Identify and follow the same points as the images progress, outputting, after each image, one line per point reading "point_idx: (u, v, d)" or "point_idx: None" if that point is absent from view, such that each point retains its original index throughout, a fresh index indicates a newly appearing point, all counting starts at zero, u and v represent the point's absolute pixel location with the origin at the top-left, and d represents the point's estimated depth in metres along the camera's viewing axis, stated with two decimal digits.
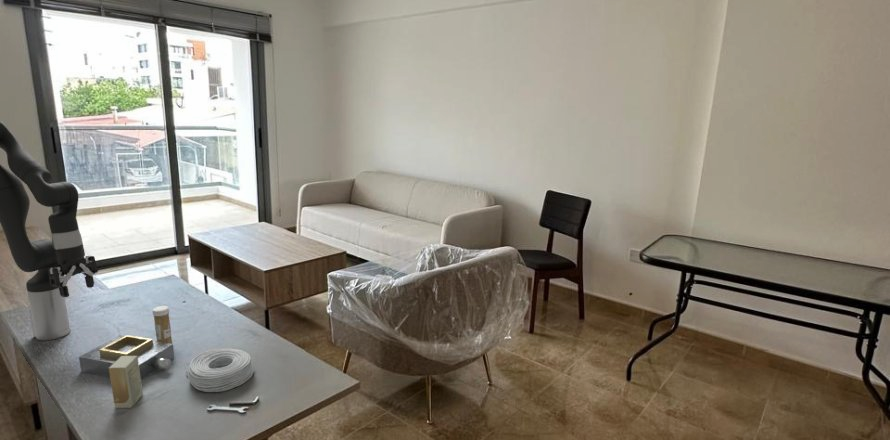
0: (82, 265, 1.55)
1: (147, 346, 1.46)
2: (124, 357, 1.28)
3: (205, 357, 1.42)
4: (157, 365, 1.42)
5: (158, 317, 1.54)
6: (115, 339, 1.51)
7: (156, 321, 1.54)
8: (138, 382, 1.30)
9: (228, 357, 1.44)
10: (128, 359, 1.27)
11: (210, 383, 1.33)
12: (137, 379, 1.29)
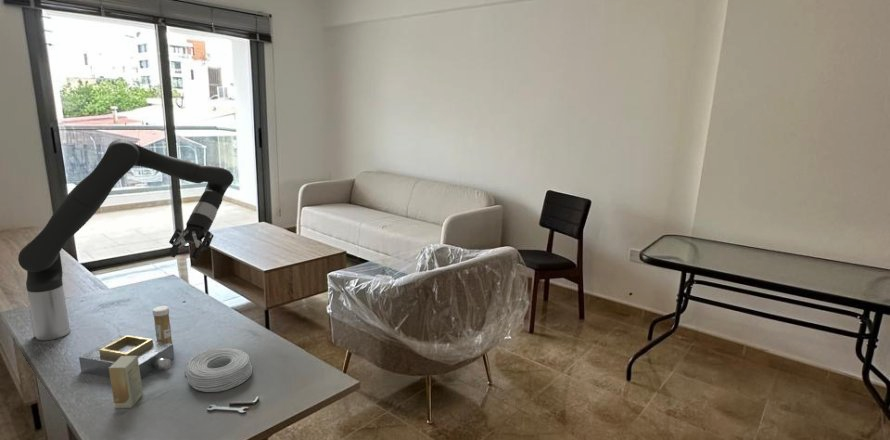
0: None
1: (147, 346, 1.46)
2: (124, 357, 1.28)
3: (204, 357, 1.42)
4: (157, 365, 1.42)
5: (158, 317, 1.54)
6: (115, 339, 1.51)
7: (156, 321, 1.54)
8: (138, 382, 1.30)
9: (227, 357, 1.44)
10: (128, 359, 1.27)
11: (209, 383, 1.33)
12: (137, 379, 1.29)
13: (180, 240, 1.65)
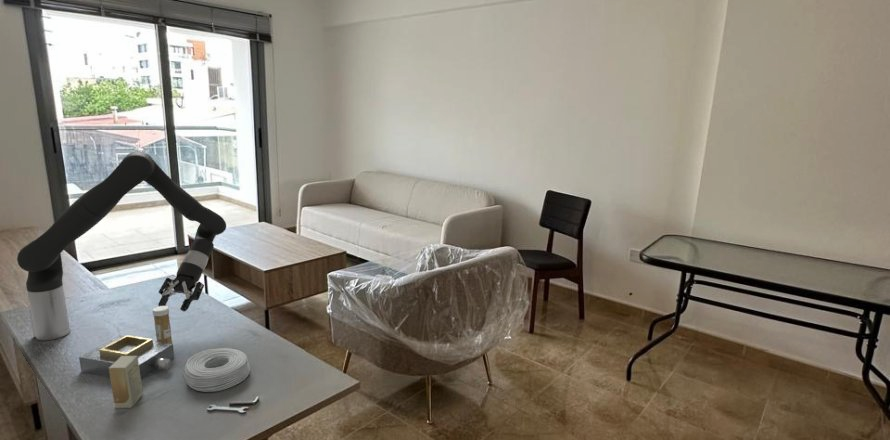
0: None
1: (147, 346, 1.46)
2: (124, 357, 1.28)
3: (201, 357, 1.42)
4: (157, 365, 1.42)
5: (158, 317, 1.54)
6: (115, 339, 1.51)
7: (156, 321, 1.54)
8: (138, 382, 1.30)
9: (224, 357, 1.44)
10: (128, 359, 1.27)
11: (206, 383, 1.33)
12: (137, 379, 1.29)
13: (170, 290, 1.63)
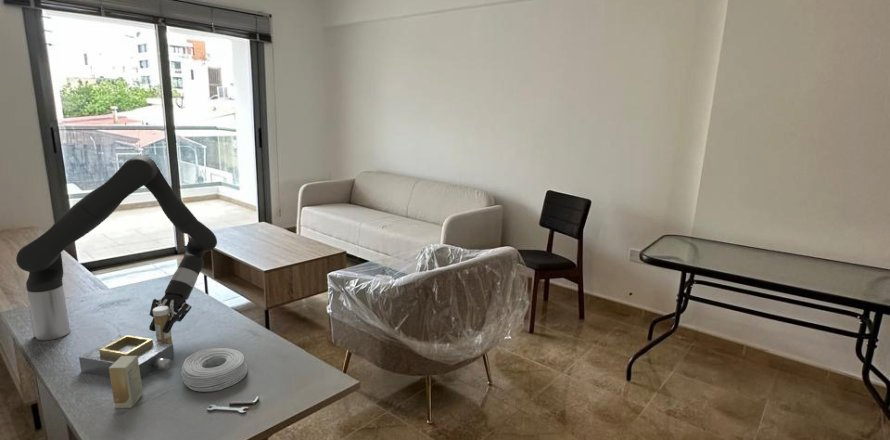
0: None
1: (147, 346, 1.46)
2: (124, 357, 1.28)
3: (199, 357, 1.42)
4: (157, 365, 1.42)
5: (158, 317, 1.54)
6: (115, 339, 1.51)
7: (156, 321, 1.54)
8: (138, 382, 1.30)
9: (222, 357, 1.44)
10: (128, 359, 1.27)
11: (203, 383, 1.33)
12: (137, 379, 1.29)
13: None
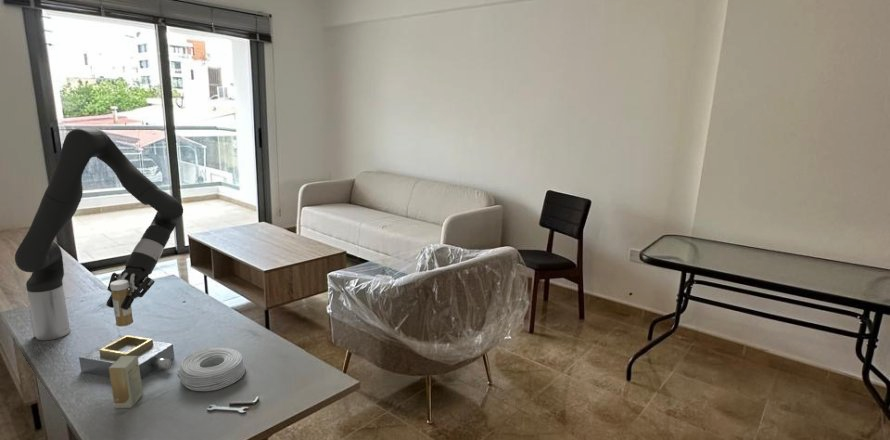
0: None
1: (147, 346, 1.46)
2: (124, 357, 1.28)
3: (197, 356, 1.42)
4: (157, 365, 1.42)
5: (116, 292, 1.39)
6: (115, 339, 1.51)
7: (114, 296, 1.39)
8: (138, 382, 1.30)
9: (220, 356, 1.44)
10: (128, 359, 1.27)
11: (201, 382, 1.33)
12: (137, 379, 1.29)
13: None
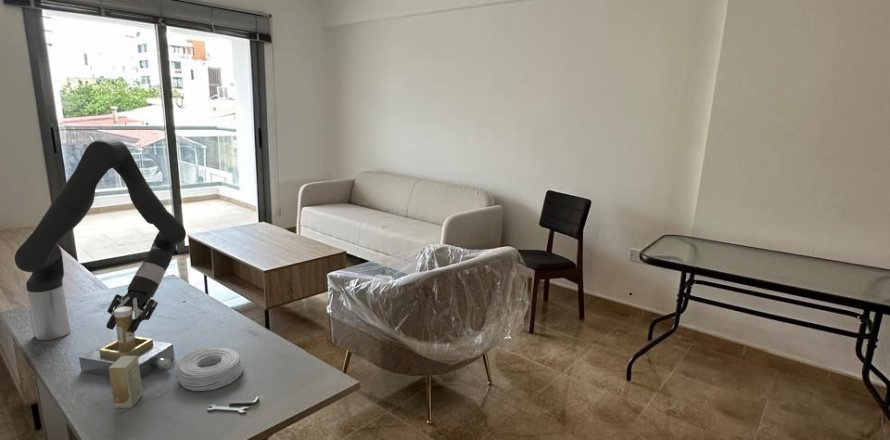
0: None
1: (147, 346, 1.46)
2: (124, 357, 1.28)
3: (194, 356, 1.43)
4: (157, 365, 1.42)
5: (119, 318, 1.41)
6: (115, 339, 1.51)
7: (118, 323, 1.41)
8: (138, 382, 1.30)
9: (217, 356, 1.44)
10: (128, 359, 1.27)
11: (198, 382, 1.33)
12: (137, 379, 1.29)
13: None
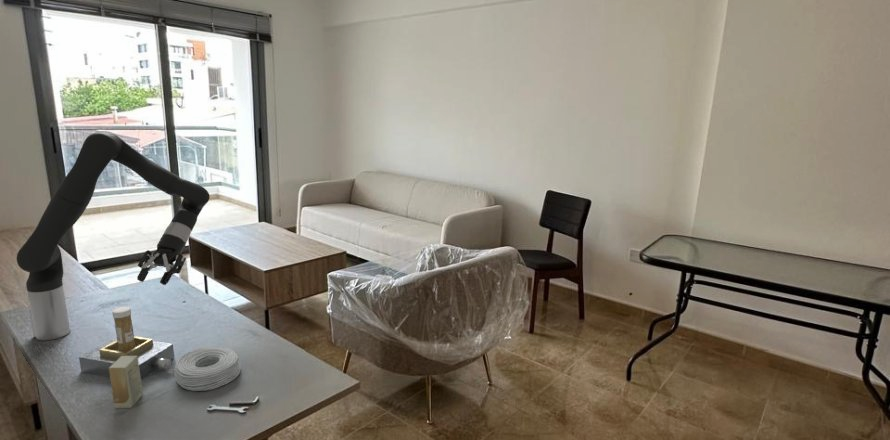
0: None
1: (147, 346, 1.46)
2: (124, 357, 1.28)
3: (192, 356, 1.43)
4: (157, 365, 1.42)
5: (118, 319, 1.40)
6: (115, 339, 1.51)
7: (116, 323, 1.41)
8: (138, 382, 1.30)
9: (215, 356, 1.44)
10: (128, 359, 1.27)
11: (196, 382, 1.33)
12: (137, 379, 1.29)
13: (150, 263, 1.55)
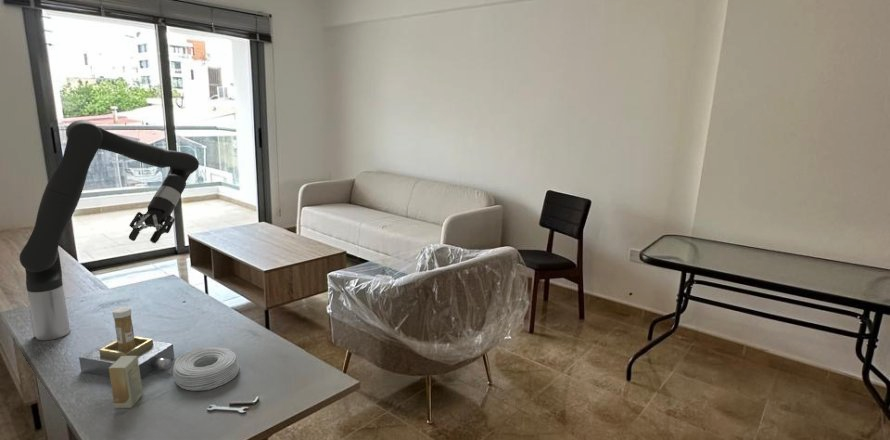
0: None
1: (147, 346, 1.46)
2: (124, 357, 1.28)
3: (191, 356, 1.43)
4: (157, 365, 1.42)
5: (118, 319, 1.40)
6: (115, 339, 1.51)
7: (116, 323, 1.41)
8: (138, 382, 1.30)
9: (214, 356, 1.44)
10: (128, 359, 1.27)
11: (194, 381, 1.33)
12: (137, 379, 1.29)
13: (140, 223, 1.64)
